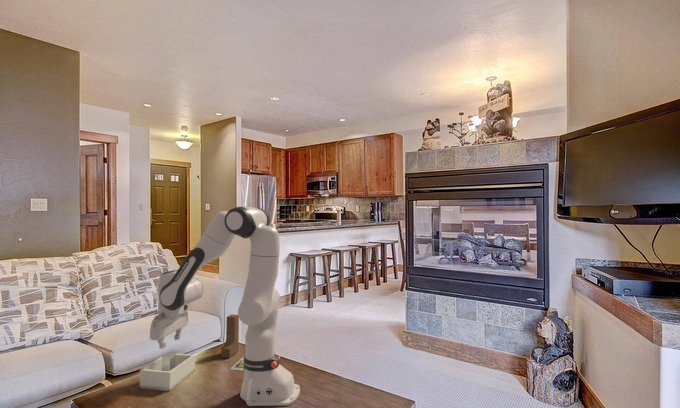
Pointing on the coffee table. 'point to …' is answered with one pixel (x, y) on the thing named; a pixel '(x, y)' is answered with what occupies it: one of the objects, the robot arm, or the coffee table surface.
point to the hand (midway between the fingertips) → (170, 343)
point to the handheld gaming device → (239, 365)
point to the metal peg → (168, 362)
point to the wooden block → (231, 337)
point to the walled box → (167, 373)
